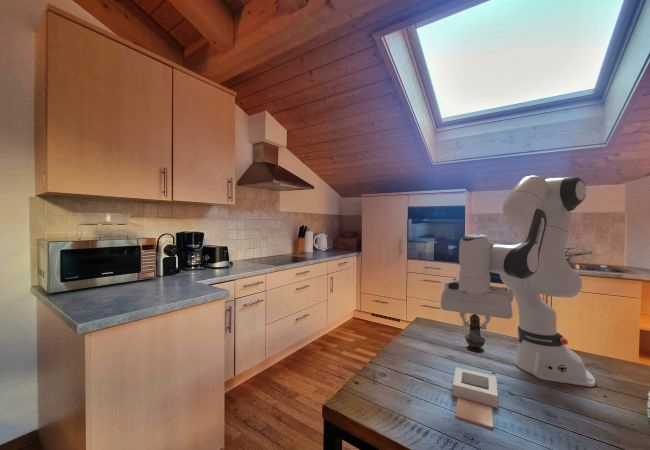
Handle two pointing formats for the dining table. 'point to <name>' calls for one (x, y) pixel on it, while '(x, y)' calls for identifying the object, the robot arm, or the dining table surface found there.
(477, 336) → the dark turned stone ornament
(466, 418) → the terracotta tile
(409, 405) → the dining table surface
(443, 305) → the robot arm
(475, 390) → the socket block
